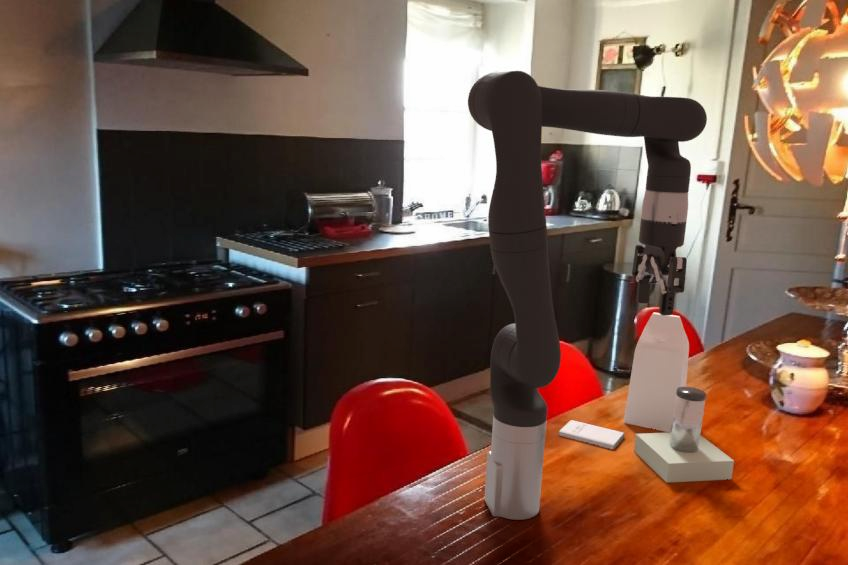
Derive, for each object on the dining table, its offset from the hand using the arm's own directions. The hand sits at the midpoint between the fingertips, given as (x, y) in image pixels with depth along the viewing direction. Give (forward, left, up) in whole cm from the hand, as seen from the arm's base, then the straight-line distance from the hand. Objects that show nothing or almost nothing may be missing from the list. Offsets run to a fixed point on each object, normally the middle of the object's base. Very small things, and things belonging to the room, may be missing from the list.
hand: (653, 308), depth 126 cm
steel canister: (+16, +11, -32) cm, 37 cm away
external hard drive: (+3, +26, -37) cm, 45 cm away
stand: (+16, +11, -36) cm, 41 cm away
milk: (+22, +34, -36) cm, 54 cm away
